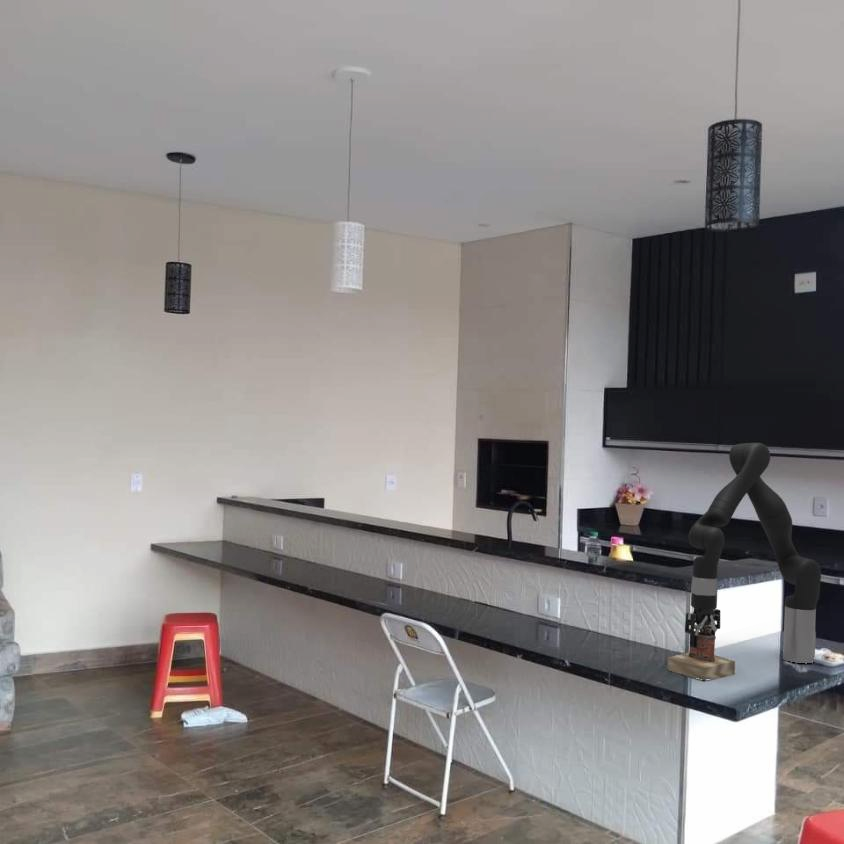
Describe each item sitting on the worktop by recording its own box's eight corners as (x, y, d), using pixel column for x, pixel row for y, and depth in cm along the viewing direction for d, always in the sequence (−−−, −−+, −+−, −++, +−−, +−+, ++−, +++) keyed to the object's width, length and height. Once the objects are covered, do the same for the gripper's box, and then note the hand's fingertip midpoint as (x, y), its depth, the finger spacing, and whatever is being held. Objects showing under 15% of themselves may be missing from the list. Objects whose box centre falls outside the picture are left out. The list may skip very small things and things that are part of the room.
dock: (698, 663, 279) (698, 650, 279) (734, 674, 269) (735, 660, 269) (667, 670, 270) (668, 656, 270) (704, 681, 260) (704, 667, 260)
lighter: (716, 660, 268) (718, 627, 268) (711, 662, 266) (712, 629, 266) (691, 654, 274) (693, 622, 274) (686, 656, 271) (687, 623, 271)
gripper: (707, 587, 277) (705, 639, 277) (679, 591, 268) (677, 645, 268) (729, 592, 271) (727, 645, 271) (700, 596, 262) (698, 651, 262)
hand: (702, 645), depth 270 cm, fingers open, 8 cm apart
